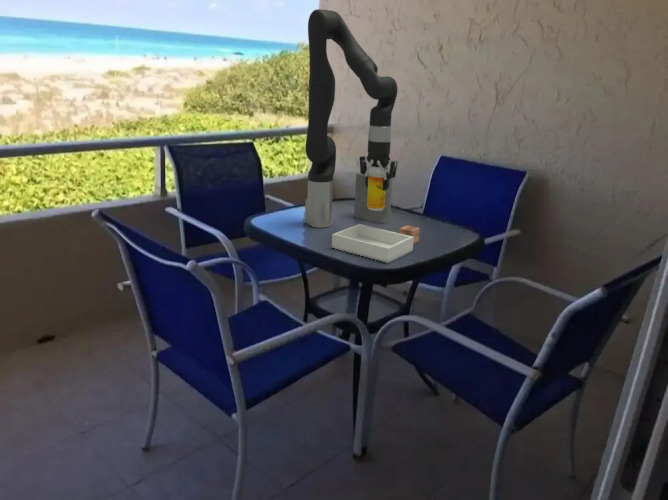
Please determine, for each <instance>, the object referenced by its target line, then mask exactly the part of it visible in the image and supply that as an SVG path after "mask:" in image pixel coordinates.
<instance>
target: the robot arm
mask: <svg viewBox="0 0 668 500" xmlns="http://www.w3.org/2000/svg"><path fill="white" fill-rule="evenodd" d="M307 38H308V50H309V51H308V52H309V62H308V63H309V64H308V65H309V71H308V72H309V77H308V115H307V116H308V117H307V118H308V123H307V132H306V133H307V134H306V139H305V155H306V157H307V159H308V160H309V161H310V162H311V167H310V169H309V171H308V174H307V198H306V199H305V206H304V208H305V209H304V210H305V211H304V214H305V218H304V223H307V224H306V225H307V226H309V225H310V226H309V227H311V226H312V228H318V229H320V228H328V227H329V228H330V227H331V226H332V224H333V221H332V220H333V191H334V190H333V184H334V175H335V171H336V162H337V161H336V160H337V147H336V143H335V141H334V139H333V138H332V136H329V135H328V128H329V127H328V126H329V121H330V117H331V113H332V111H333V107H334V104H335V99H336V98H335V96H336V78H335V74H334V71H333V69H332V66H331V64H330V61H329V58H328V53H327V42H328V41H327V40H332V41H333V42H334V43H335V44H337V45H338V46H339V47H340V49H341V50H342V52H343V55H344V59H345V63H347V66H348V67H349V69H351V71H352V73H354V75H356V77H357V78H358V79H359V81H360V83H361V85H362V87H363V89H364V91H365V92H366V95H368V96H369V97H370V98H372V99H373V100H377V103H376V105H375V106H373V107H372V108H370V109H371V110H370V113H369V116H370V117H369V126H368V127H369V128H368V135H367V137H368V138H367V155H362V156H359V170H360V171H359V173H361V174H364V175H365V185H366V187H368V176H369V168H370V166H372V167H373V166H375V167H381V168H380V169H381V173H382V174H383V178H384V180H383V191H386V190H388V189H389V180H390V179H392V180H393V179H395V178H396V175H397V170H398V163H399V162H398V161H397V160H392V159H391V158H390V154H391V143H392V142H391V141H392V127H391V125H392V112H393V111H394V107H395V103H396V100H397V97H398V84H397V81H396V79H395V78H393V77H392V76H380V75H378V74H377V73H378V70H379V67H378V65H377V64H376V63H375V61H374V60H373V59H372V58H371V56H369V54H368V53H367V52H366V51H365V50H364V49H363V48H362V47H361V45H360V44H359V42H358V41H357V40H356V38H355V36H354V35H353V33H352V31H351V30H350V28H349V27H348V26H347V23H346V22H345V20H344V19H343V17H342V16H341V15H340V13H339V12H337V11H335V10H330V9H329V10H328V9H317V8H316V9H314V10H312V12H311V13H310V14H309V17H308V23H307ZM367 162H368V163H367ZM384 168H386V169H387V170H384Z"/></svg>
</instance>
